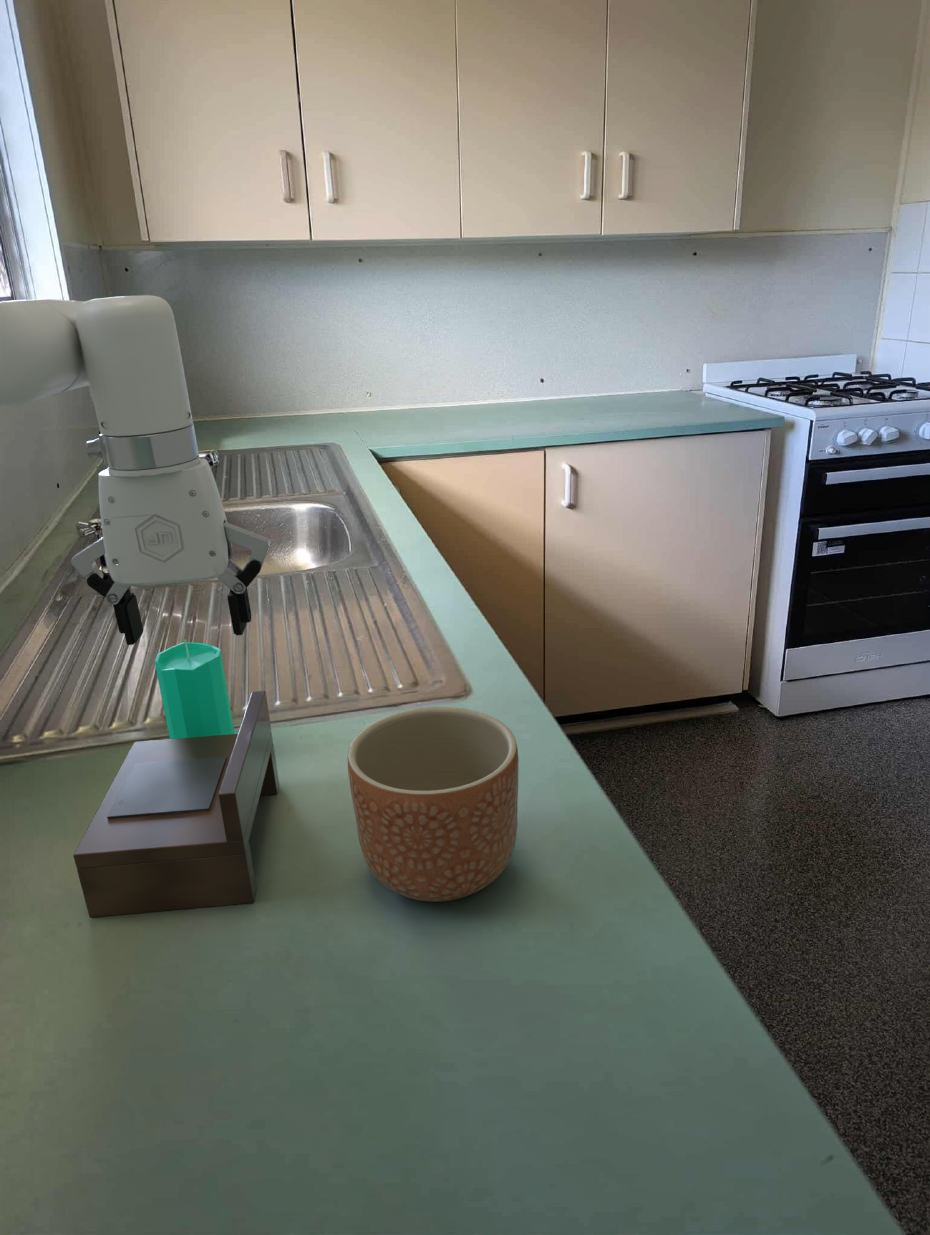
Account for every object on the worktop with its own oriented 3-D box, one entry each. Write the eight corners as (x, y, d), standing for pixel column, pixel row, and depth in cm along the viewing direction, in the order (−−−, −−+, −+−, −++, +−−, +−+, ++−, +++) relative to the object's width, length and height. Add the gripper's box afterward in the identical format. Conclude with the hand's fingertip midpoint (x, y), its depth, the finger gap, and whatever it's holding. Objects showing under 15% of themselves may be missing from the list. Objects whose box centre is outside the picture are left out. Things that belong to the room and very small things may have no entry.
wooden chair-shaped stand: (89, 917, 64) (60, 807, 60) (145, 795, 79) (125, 701, 75) (254, 903, 65) (235, 793, 61) (279, 784, 80) (265, 690, 76)
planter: (461, 803, 75) (455, 690, 71) (554, 878, 66) (553, 752, 62) (332, 860, 69) (317, 739, 65) (414, 951, 59) (402, 817, 55)
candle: (170, 745, 87) (148, 635, 83) (231, 731, 89) (213, 622, 85) (177, 774, 82) (154, 658, 77) (241, 758, 84) (223, 644, 80)
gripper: (31, 467, 71) (80, 659, 77) (247, 451, 71) (277, 642, 78) (63, 449, 77) (105, 627, 84) (260, 434, 78) (286, 611, 85)
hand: (188, 634), depth 81 cm, fingers open, 9 cm apart
